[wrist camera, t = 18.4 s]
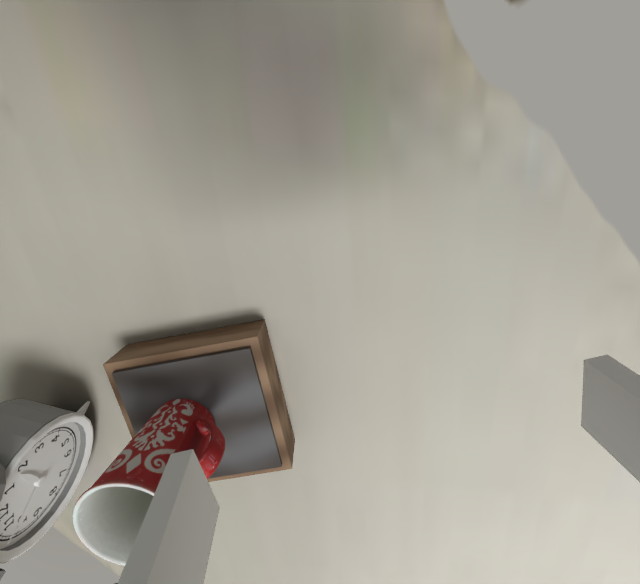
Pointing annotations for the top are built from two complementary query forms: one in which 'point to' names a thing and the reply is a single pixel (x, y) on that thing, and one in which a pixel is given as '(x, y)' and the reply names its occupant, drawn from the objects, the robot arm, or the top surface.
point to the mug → (143, 476)
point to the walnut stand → (212, 391)
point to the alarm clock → (38, 469)
